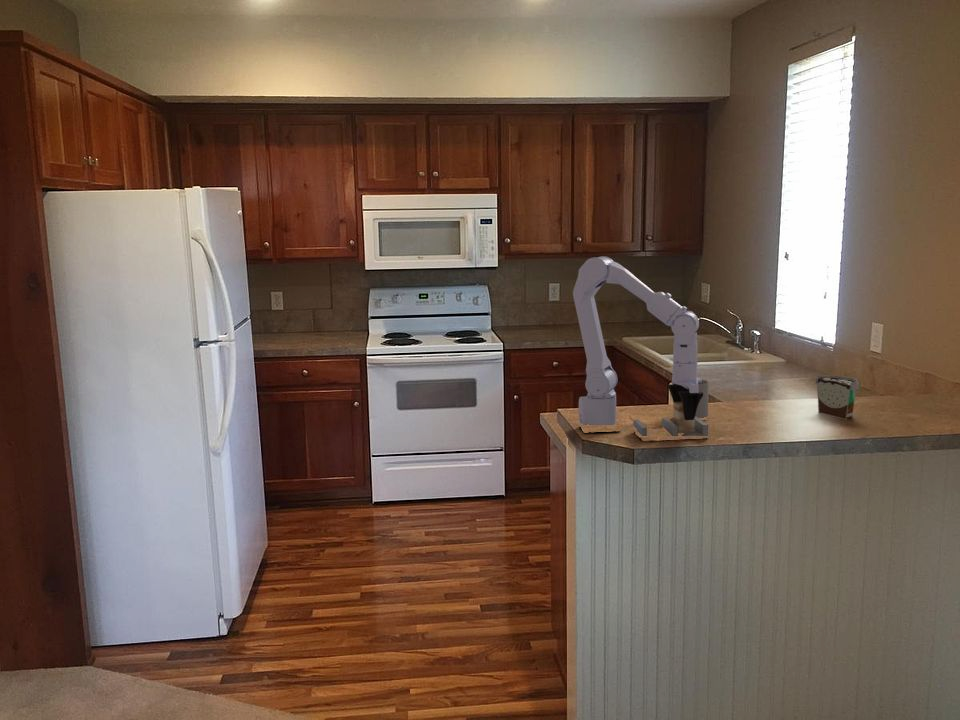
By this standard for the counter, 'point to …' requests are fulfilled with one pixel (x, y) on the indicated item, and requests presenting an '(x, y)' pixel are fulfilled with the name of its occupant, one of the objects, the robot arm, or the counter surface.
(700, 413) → the cup
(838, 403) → the food container
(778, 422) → the counter surface
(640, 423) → the gray i-beam stand
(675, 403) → the peg
